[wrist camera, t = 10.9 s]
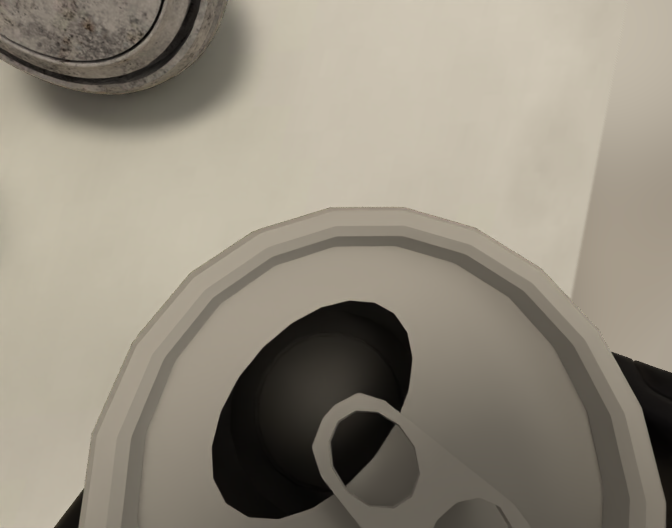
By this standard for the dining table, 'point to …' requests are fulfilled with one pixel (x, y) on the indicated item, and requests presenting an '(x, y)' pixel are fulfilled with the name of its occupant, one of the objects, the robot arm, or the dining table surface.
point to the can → (370, 391)
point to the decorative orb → (106, 40)
